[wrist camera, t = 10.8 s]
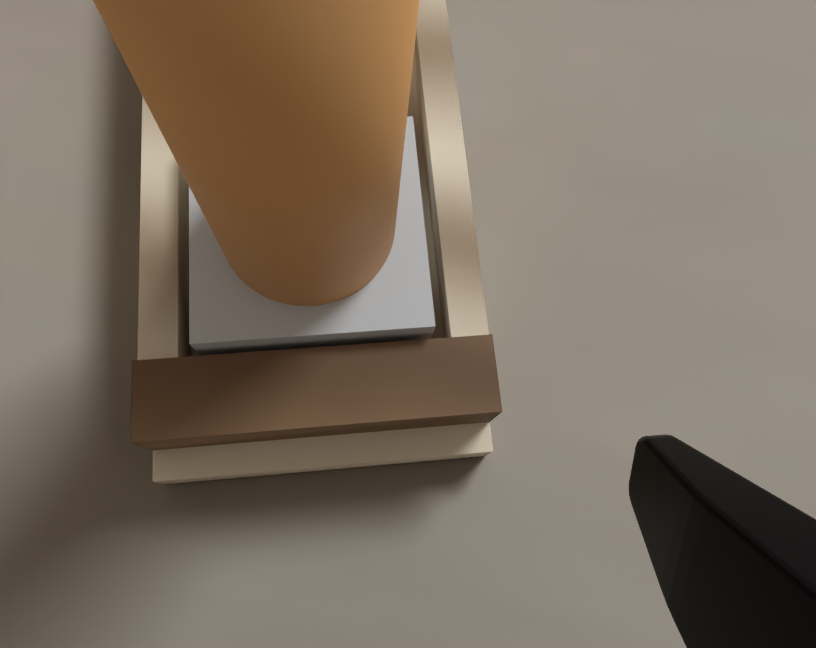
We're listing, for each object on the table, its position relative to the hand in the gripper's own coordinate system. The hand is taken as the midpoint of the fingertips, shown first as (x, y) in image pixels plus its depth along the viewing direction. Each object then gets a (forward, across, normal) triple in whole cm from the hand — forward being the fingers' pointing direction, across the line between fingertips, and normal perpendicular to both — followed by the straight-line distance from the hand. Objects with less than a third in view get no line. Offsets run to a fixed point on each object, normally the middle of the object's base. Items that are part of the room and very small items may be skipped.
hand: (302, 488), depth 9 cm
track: (+15, 0, 0) cm, 15 cm away
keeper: (+11, 0, +1) cm, 12 cm away
